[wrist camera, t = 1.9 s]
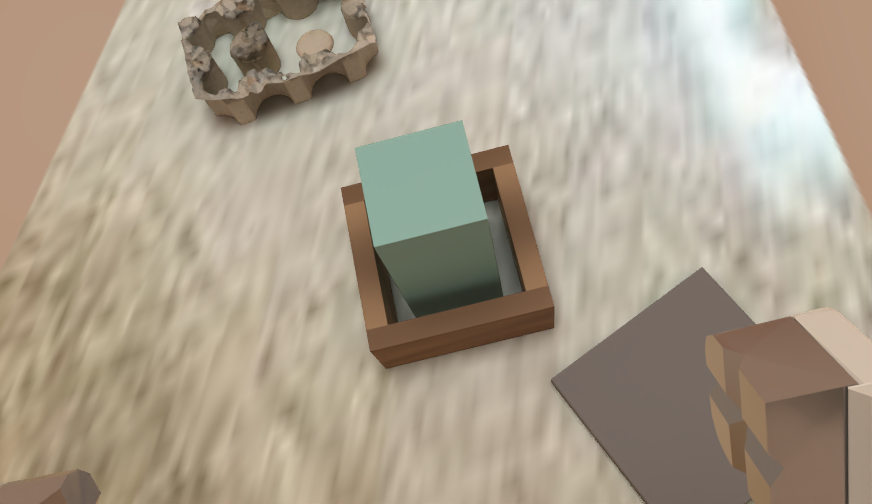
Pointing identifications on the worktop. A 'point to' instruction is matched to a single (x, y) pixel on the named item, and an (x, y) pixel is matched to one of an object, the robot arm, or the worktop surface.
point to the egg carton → (268, 53)
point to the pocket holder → (464, 323)
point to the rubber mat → (661, 397)
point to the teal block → (430, 219)
